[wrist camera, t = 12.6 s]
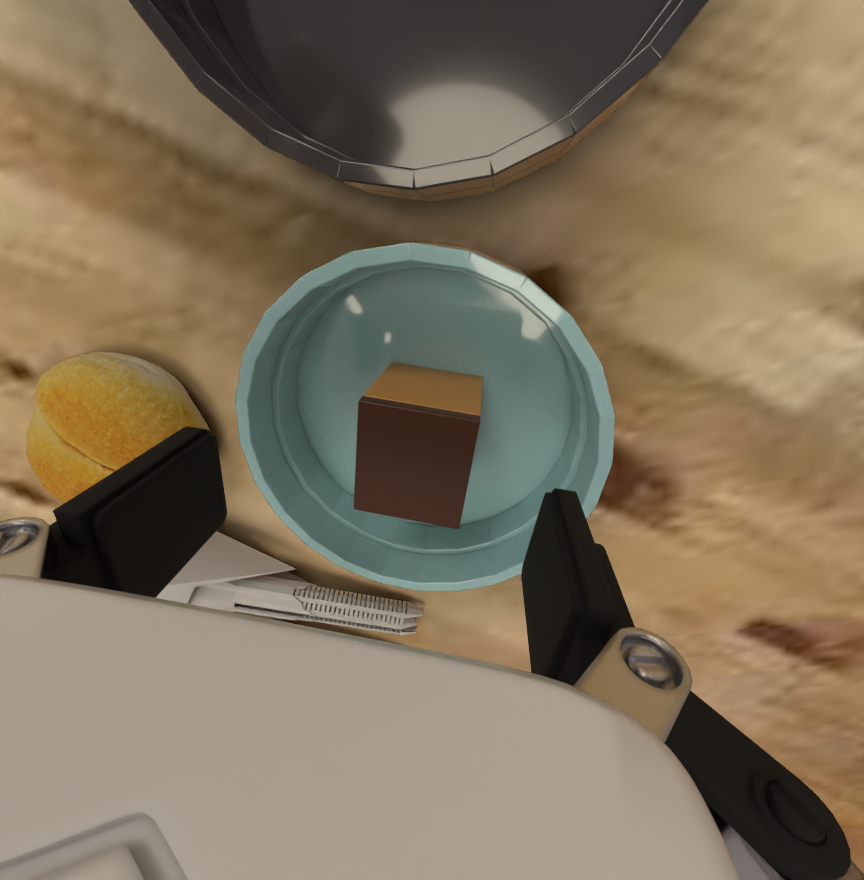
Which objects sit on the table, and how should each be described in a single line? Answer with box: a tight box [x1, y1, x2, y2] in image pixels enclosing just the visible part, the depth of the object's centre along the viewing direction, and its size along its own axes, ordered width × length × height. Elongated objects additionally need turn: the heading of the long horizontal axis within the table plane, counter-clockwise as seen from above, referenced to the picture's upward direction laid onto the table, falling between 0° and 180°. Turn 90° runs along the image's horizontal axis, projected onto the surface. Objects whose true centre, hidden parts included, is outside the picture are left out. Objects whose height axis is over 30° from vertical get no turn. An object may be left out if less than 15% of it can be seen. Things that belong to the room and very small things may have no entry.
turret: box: [156, 531, 423, 635], centre depth 24 cm, size 10×20×5 cm, turn 75°
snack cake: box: [353, 362, 484, 529], centre depth 16 cm, size 4×4×5 cm
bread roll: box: [27, 352, 212, 503], centre depth 19 cm, size 8×9×4 cm
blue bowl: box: [235, 242, 615, 591], centre depth 17 cm, size 14×14×4 cm
